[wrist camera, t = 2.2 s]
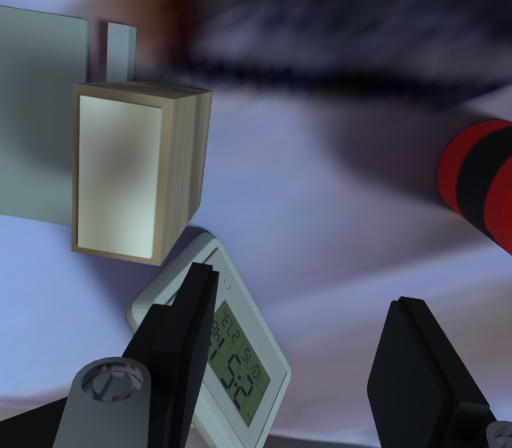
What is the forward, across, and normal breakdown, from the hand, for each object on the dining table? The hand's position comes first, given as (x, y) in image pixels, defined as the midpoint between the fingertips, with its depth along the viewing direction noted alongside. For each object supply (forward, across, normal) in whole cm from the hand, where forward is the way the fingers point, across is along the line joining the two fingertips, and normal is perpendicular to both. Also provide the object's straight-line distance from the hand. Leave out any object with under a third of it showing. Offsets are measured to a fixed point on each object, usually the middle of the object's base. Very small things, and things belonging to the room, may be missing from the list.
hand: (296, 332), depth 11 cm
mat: (+23, +22, 0) cm, 32 cm away
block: (+23, +9, 0) cm, 25 cm away
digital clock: (+24, +3, +14) cm, 28 cm away
